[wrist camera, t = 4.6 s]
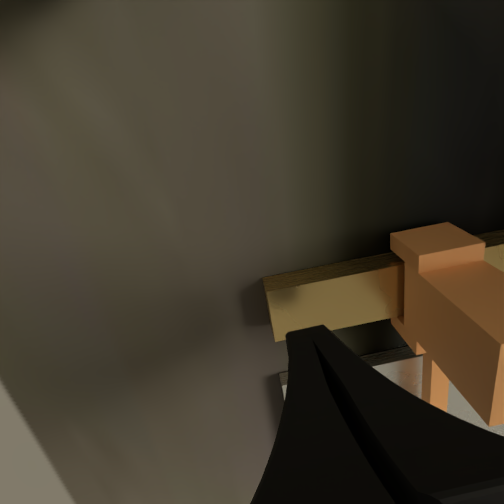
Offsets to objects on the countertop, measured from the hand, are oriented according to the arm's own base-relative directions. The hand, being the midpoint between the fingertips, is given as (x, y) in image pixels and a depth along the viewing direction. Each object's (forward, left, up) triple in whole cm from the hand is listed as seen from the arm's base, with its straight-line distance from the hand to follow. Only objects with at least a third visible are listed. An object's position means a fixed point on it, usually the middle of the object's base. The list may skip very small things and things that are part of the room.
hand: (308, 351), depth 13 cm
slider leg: (-6, +3, -3) cm, 7 cm away
